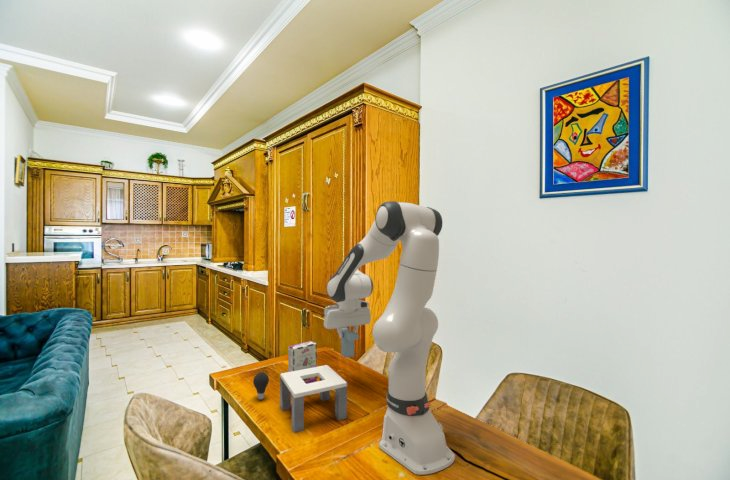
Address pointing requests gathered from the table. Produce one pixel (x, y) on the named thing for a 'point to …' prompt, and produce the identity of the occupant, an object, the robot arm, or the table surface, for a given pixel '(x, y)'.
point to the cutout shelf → (311, 392)
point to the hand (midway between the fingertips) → (347, 337)
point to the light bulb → (261, 384)
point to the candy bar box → (303, 358)
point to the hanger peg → (348, 342)
